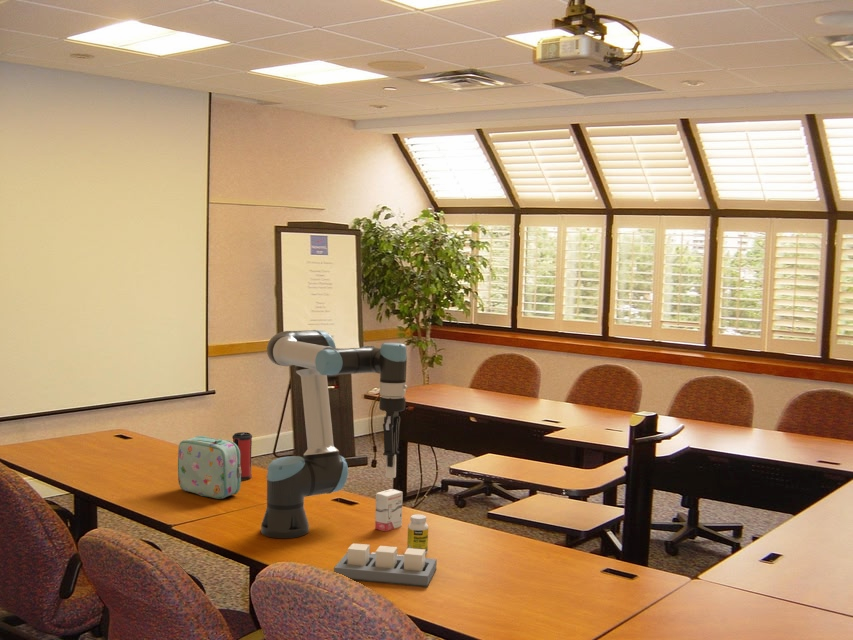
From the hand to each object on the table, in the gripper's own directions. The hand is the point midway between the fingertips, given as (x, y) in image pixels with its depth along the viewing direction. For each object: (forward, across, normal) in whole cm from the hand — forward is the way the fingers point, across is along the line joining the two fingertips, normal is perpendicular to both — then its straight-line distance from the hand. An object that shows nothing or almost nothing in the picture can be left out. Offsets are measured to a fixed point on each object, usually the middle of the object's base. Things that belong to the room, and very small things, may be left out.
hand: (390, 476), depth 249 cm
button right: (+22, -12, -10) cm, 27 cm away
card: (+24, 0, 0) cm, 24 cm away
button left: (+22, -12, +6) cm, 26 cm away
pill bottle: (+25, +8, -7) cm, 27 cm away
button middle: (+22, -12, -2) cm, 25 cm away
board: (+24, -12, -2) cm, 27 cm away
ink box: (+25, +30, +7) cm, 39 cm away
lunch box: (+25, +53, +80) cm, 99 cm away
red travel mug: (+25, +78, +78) cm, 113 cm away
